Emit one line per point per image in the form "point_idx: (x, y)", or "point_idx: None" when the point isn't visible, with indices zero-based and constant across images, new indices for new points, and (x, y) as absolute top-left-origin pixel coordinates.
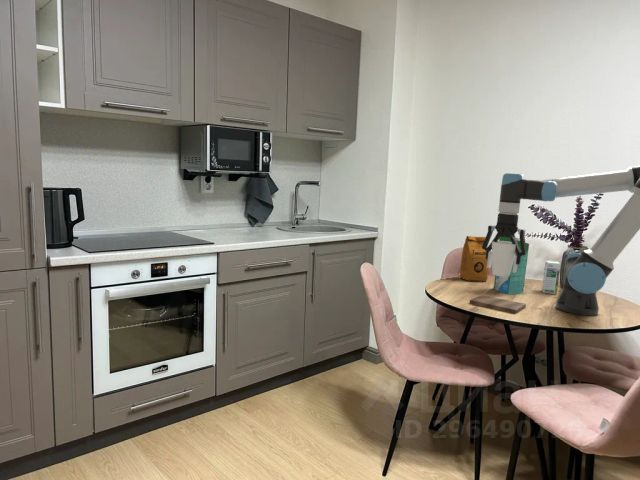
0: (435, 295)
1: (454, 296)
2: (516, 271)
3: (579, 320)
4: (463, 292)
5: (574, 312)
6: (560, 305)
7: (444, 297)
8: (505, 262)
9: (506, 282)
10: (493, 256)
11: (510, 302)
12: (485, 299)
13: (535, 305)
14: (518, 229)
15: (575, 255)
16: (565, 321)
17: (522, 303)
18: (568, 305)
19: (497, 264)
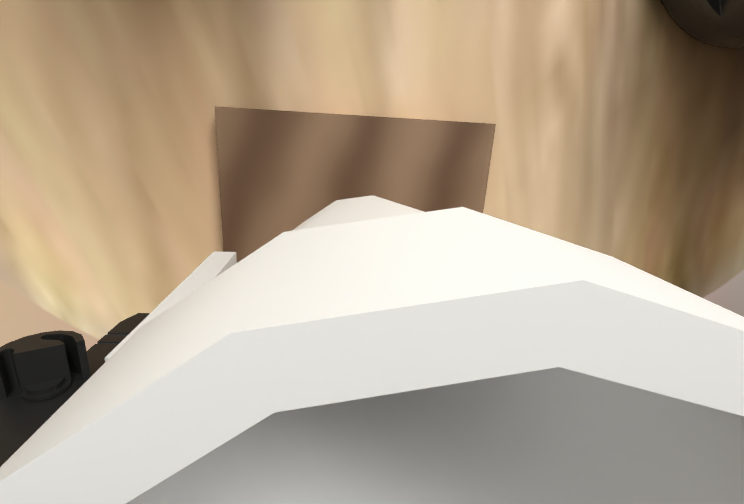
0: (11, 272)
1: (93, 203)
2: None
3: (733, 168)
4: (62, 33)
5: (739, 46)
6: (688, 2)
7: (72, 274)
8: (440, 435)
9: None
10: (266, 474)
11: (415, 166)
12: (283, 217)
13: (532, 8)
14: None
15: None
16: (668, 241)
17: (477, 131)
18: (740, 28)
19: (347, 420)
